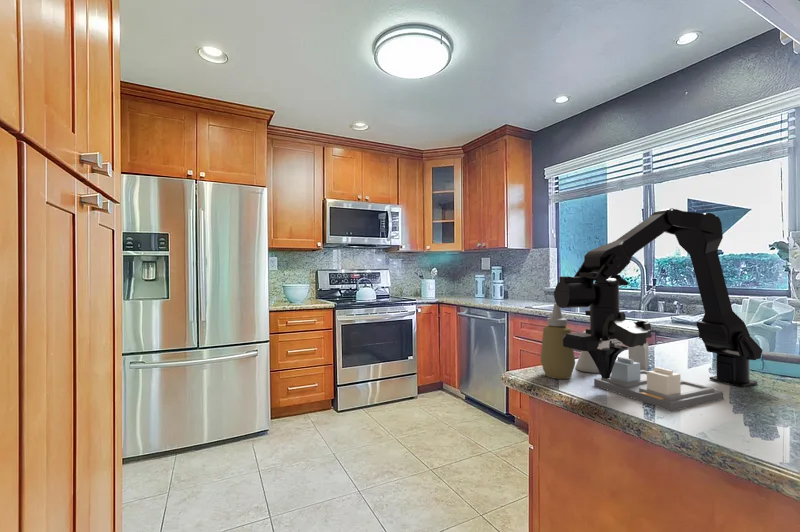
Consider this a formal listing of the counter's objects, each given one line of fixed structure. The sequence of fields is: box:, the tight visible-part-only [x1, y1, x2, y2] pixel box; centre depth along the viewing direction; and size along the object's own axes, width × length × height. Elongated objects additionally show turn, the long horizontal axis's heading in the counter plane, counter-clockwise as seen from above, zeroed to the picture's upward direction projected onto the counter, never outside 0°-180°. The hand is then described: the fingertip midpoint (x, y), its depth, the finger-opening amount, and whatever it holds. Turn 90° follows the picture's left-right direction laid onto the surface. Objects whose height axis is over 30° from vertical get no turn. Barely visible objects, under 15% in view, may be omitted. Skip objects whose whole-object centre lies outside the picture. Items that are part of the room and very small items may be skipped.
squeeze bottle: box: [540, 303, 576, 380], centre depth 94 cm, size 8×8×18 cm
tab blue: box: [611, 356, 641, 383], centre depth 85 cm, size 4×4×5 cm
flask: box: [575, 330, 600, 374], centre depth 99 cm, size 7×7×10 cm
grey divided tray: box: [593, 370, 725, 412], centre depth 82 cm, size 16×17×2 cm
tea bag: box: [627, 340, 650, 371], centre depth 101 cm, size 4×7×10 cm, turn 140°
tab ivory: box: [646, 366, 681, 396], centre depth 76 cm, size 4×4×5 cm
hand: (605, 378), depth 82 cm, fingers closed
